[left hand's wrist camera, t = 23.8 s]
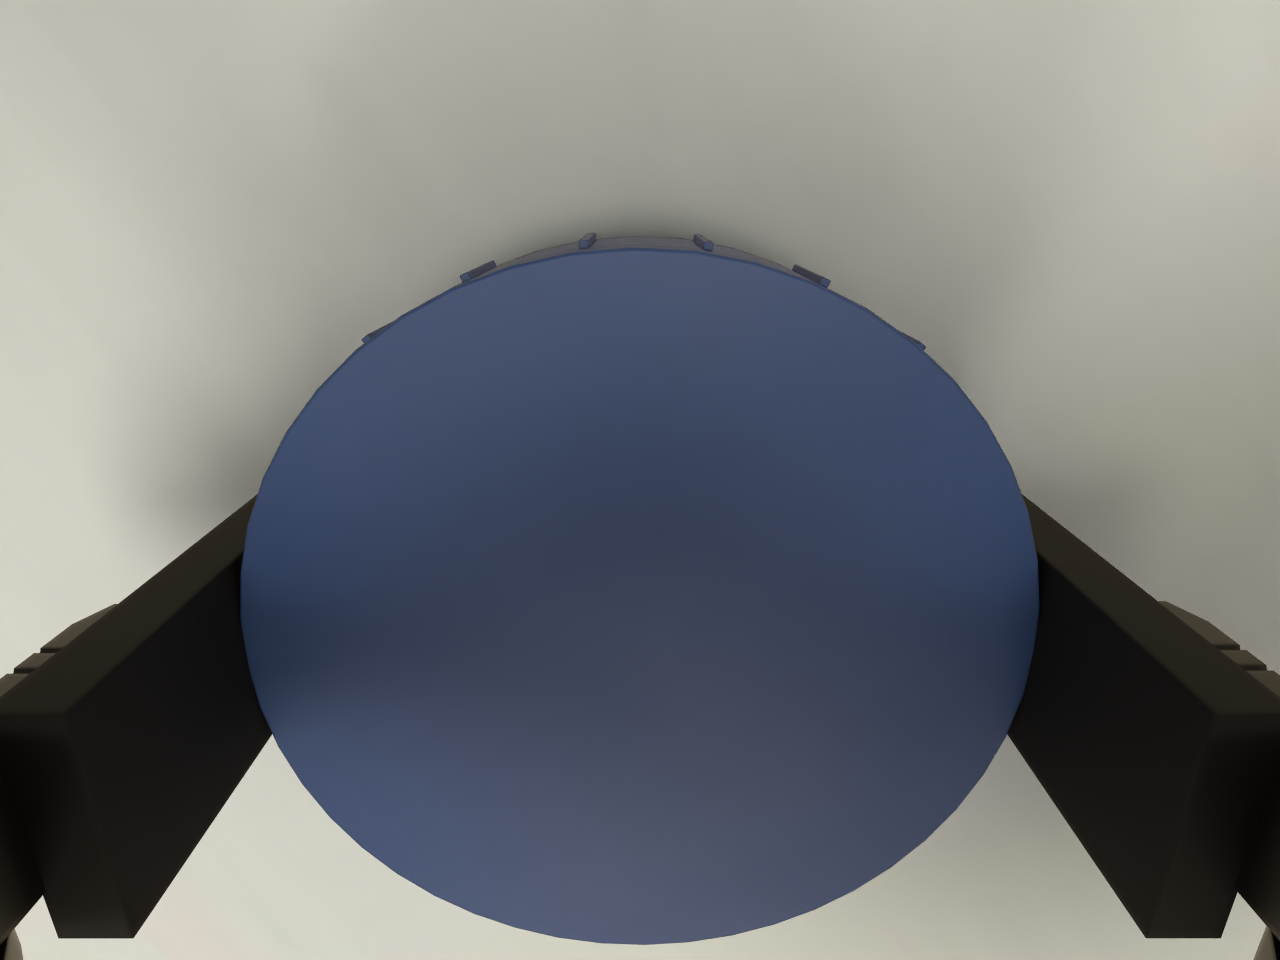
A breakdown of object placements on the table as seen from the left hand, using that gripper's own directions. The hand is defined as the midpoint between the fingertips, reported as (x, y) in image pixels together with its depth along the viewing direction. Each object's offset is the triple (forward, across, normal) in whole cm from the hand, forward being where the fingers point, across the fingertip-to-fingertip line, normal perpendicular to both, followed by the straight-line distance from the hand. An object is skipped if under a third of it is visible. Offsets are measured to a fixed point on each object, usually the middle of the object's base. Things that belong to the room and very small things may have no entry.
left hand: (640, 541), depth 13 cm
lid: (-3, 0, 0) cm, 3 cm away
